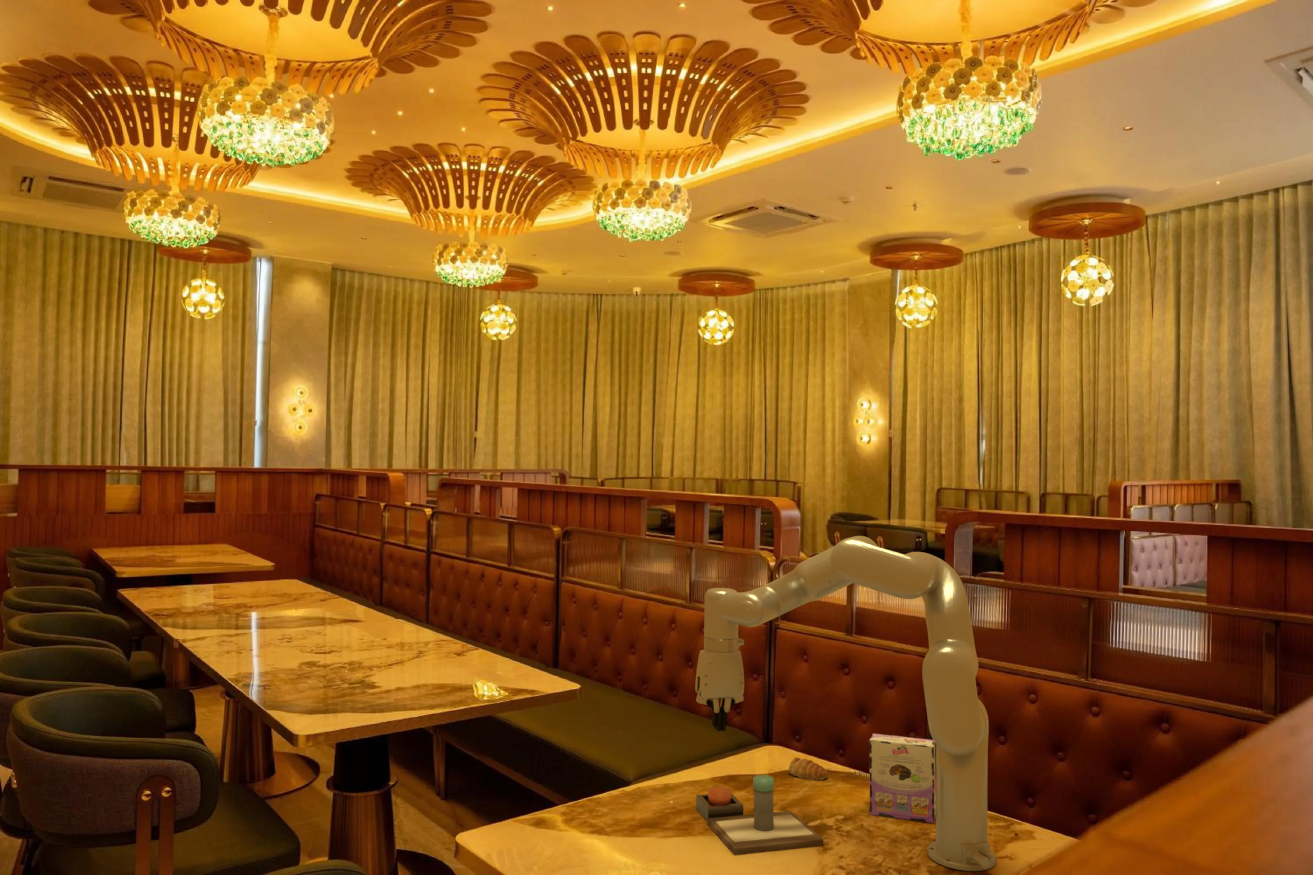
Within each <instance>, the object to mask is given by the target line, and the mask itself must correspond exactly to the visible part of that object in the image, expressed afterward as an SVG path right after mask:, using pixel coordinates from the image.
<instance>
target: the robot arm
mask: <svg viewBox="0 0 1313 875" xmlns="http://www.w3.org/2000/svg"><path fill="white" fill-rule="evenodd" d="M852 584H854V585H855V584H856V585H859V586H861V587H863V588H867V589H871V590H874V591H875V592H876V591H877V592H880V593H882V594H883V593H884V594H887V595H889V596H892V597H895V598H899V599H902V600H903V599H904V600H914V599H918V598H920V597H921V599H922V601H923V604H924V612H925V615H924V616H925V623H926V628H927V638H928V651H927V653H926V654H925V657H924V659H923V662H922V670H921V671H922V672H921V673H922V685H923V692H924V699H925V700H924V701H925V708H926V709H925V710H926V714H927V715H926V716H927V722H928V730H929V733H930V735H931V738H932V740H934V742H935V767H936V817H935V841H932V842H931V843H929V844H928V846H927V855H928V856H929V858H930V859H931V860H932V861H933V862H935V863H937V864H939V865H941V866H944V867H946V868H949V869H953V870H957V871H966V872H980V871H986V870H990V869H992V868H994V867H995V866H996V863H997V855H996V854H995V852H993V851H992V850H991V849H990V844H991V843H990V842H989V841H988V762H989V760H988V757H989V756H988V754H989V753H988V750H989V749H988V747H989V727H990V726H989V723H990V722H989V716H988V715H989V714H988V712H987V709H986V707H985V704H983V702H982V701H981V699H979V697H978V689H977V681H976V677H977V674H978V671H979V659H978V655H977V650H976V645H975V637H974V632H973V631H974V630H973V625H972V624H973V623H972V619H971V614H970V606H969V601H968V596H967V593H966V588H965V586H964V584H963V580H961V578H960V576H959V574H958V573H957V572H956V571H955V570H954V568H953V567H952V566H951V565H950V564H948V562H946V561H944V560H943V559H941V558H939V557H938V556H935V555H933V554H930V553H927V552H921V551H911V552H907V553H901V552H897V551H894V550H891V549H887V548H884V547H882V546H881V547H880V546H878V544H877V543H876V542H875V541H874V540H872V539H871V538H870V537H867V536H864V535H855V536H851V537H848V538H844V539H841V540H840V541H839V542H837V544H835V545H833V546H832V547H830V548H827V549H826V550H824V551H822V552H820V553H817V554H815V555H814V556H812V557H809V558H807V559H805V560H803V561H801V562H800V563H799V564H797V565H796V566H795V568H794V569H792V570H791V571H789V572H788V573H786V574H785V575H783V576H781V577H779V578H776V579H775V580H773V581H771V582H769V583H767V584H764V585H762V586H760V587H758V588H754V589H751V590H747V591H743V592H738V591H737V590H735V589H733V588H728V587H713V588H709V589H707V591H706V592H705V593H704V594H705V595H704V617H703V618H704V623H703V626H704V627H703V628H704V629H703V649H701V650H700V651H699V654H698V658H697V659H698V660H697V665H696V673H695V674H696V675H695V683H694V684H695V686H694V687H695V688H694V689H695V693H696V694H697V695H696V699H695V702H697V703H698V704H700V705H705V706H708V707H709V708H710V710H711V713H712V714H711V726H712V727H713V728H714V729H715V731H717V732H721V731H722V732H725V731H726V727H727V726H728V713H729V712H730V711H731V709H732V707H733V706H734V705H735V704H739V703H740V702H744V699H745V698H744V697H745V696H744V691H745V674H744V673H745V672H744V665H743V663H744V662H743V659H742V658H743V657H742V653H741V651H740V647H741V646H744V644H745V640H744V638H740V637H739V626H742V627H747V628H755V627H758V626H760V625H763V624H764V623H767V622H769V621H771V620H773V619H776V618H778V617H780V616H781V615H782V616H783V615H784V614H786V613H788V612H790V611H792V610H795V609H796V608H799V607H801V606H803V605H805V604H807V603H811V602H816V601H818V600H820V599H823V598H825V597H827V596H828V595H831V594H833V593H834V592H837V591H839V590H842V589H843V588H845V587H848V586H850V585H852ZM719 699H721V700H720V703H719ZM719 704H720V705H719Z"/></svg>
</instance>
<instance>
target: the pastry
mask: <svg viewBox="0 0 1313 875" xmlns="http://www.w3.org/2000/svg"><path fill="white" fill-rule="evenodd" d="M788 773H789V774H790V775H791V776H792V775H793V777H795V776H796V777H797V778H800V779H805V780H810V779H811V780H812V781H818V780H819V781H823V780H825V779H826V778H828V774H829V772H828V770H827V769H825V767H824V766H822V765H820V764H818V763H816V762H814V761H813V760H811V759H807V758H800V757H794V758H792V760H791V761H790V764H789V766H788ZM811 780H810V781H811Z"/></svg>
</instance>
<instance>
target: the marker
mask: <svg viewBox="0 0 1313 875" xmlns="http://www.w3.org/2000/svg"><path fill="white" fill-rule="evenodd" d="M752 779H753V780H752V781H753V782H752V784H753V786H752V787H753V814H754V828H755V829H756V830H758V831H771V830H773V829H774V812H775V811H774V810H775V809H774V808H775V807H774V806H775V805H774V789H775V780H774V779H775V778H774V777H773V776H771V775H769V774H758V775H757V774H756V775H754V776H753V777H752Z"/></svg>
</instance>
